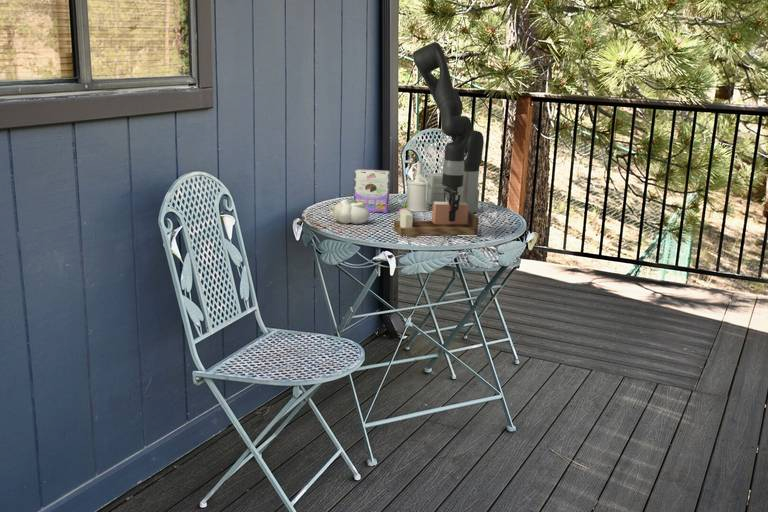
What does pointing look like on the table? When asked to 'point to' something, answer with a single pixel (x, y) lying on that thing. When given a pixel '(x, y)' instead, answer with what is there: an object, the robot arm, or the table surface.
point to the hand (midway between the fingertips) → (449, 219)
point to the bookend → (406, 219)
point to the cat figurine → (350, 212)
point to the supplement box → (435, 188)
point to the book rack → (439, 228)
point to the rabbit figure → (403, 209)
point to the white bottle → (418, 191)
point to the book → (442, 213)
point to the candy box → (373, 189)
